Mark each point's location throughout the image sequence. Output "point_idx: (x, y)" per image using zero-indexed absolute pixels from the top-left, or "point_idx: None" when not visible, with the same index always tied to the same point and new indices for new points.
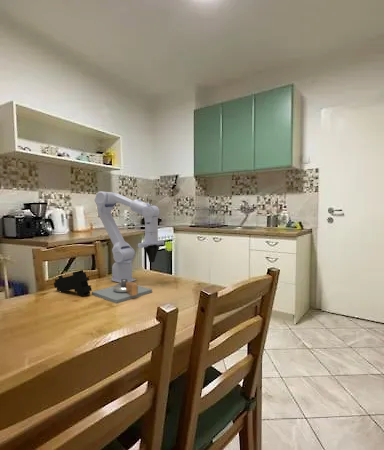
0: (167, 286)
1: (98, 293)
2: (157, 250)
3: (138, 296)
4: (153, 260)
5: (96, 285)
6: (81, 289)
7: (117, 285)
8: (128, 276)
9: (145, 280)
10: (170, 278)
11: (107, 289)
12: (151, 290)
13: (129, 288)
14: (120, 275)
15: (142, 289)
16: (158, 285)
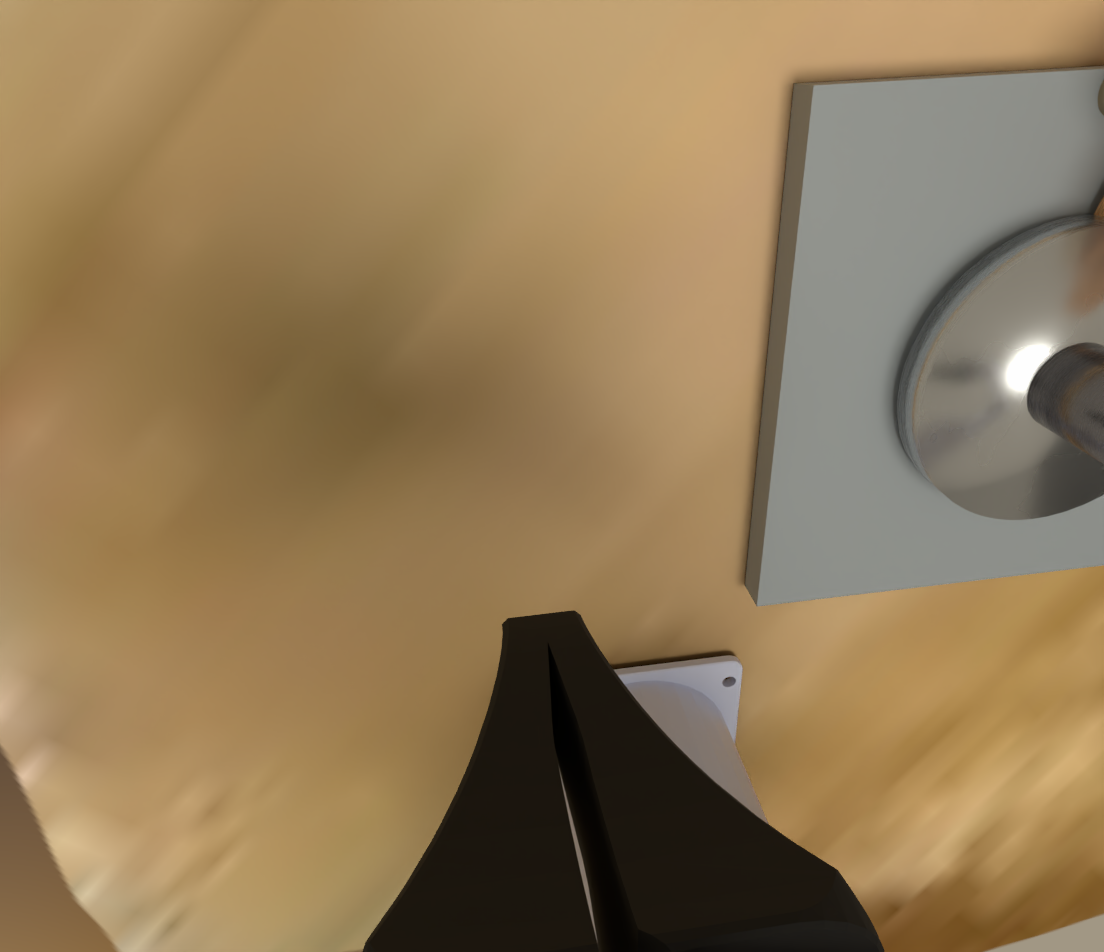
0: (385, 154)
1: None
2: (448, 864)
3: (1064, 68)
4: (556, 633)
5: (927, 752)
6: None
7: (1068, 483)
8: (665, 727)
9: (432, 624)
10: (38, 493)
11: (1099, 518)
12: (820, 85)
13: None
14: (747, 775)
15: (899, 203)
16: (461, 312)
